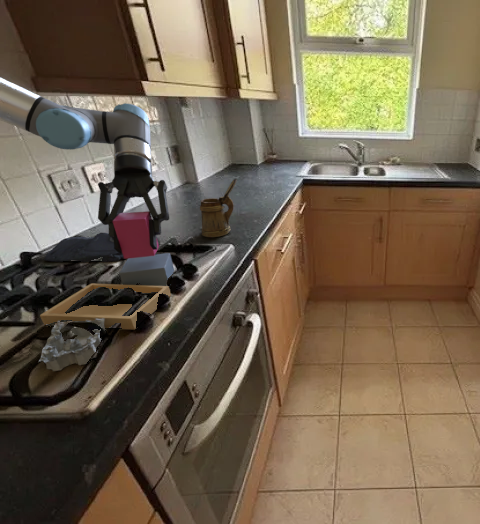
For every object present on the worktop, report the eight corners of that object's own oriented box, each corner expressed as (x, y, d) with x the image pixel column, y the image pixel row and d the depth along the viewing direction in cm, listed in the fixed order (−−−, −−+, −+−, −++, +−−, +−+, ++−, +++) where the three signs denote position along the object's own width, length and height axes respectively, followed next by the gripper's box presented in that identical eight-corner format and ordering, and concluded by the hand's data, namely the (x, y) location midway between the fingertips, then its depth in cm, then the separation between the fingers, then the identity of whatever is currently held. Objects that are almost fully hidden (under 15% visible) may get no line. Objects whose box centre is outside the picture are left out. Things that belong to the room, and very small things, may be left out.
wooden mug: (244, 234, 112) (237, 180, 104) (200, 238, 107) (189, 182, 99) (244, 226, 119) (236, 175, 111) (202, 229, 115) (192, 177, 107)
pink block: (124, 259, 75) (112, 221, 71) (130, 249, 80) (119, 213, 76) (154, 255, 77) (144, 218, 73) (159, 246, 82) (150, 211, 78)
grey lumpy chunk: (65, 336, 62) (57, 318, 60) (113, 328, 64) (107, 310, 63) (38, 376, 53) (28, 356, 51) (95, 364, 55) (87, 345, 54)
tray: (44, 326, 64) (39, 315, 63) (95, 293, 76) (91, 283, 74) (134, 329, 64) (130, 318, 63) (171, 295, 75) (168, 286, 74)
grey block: (125, 292, 76) (118, 273, 74) (134, 275, 84) (128, 257, 82) (169, 286, 79) (164, 267, 77) (174, 270, 87) (169, 252, 85)
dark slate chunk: (77, 241, 102) (72, 227, 100) (153, 241, 104) (149, 226, 102) (37, 263, 88) (30, 246, 86) (126, 261, 90) (121, 245, 88)
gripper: (180, 170, 87) (187, 250, 81) (93, 172, 81) (92, 260, 74) (173, 152, 81) (180, 237, 74) (77, 153, 74) (75, 247, 67)
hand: (136, 248), depth 74 cm, fingers closed on pink block, 6 cm apart
